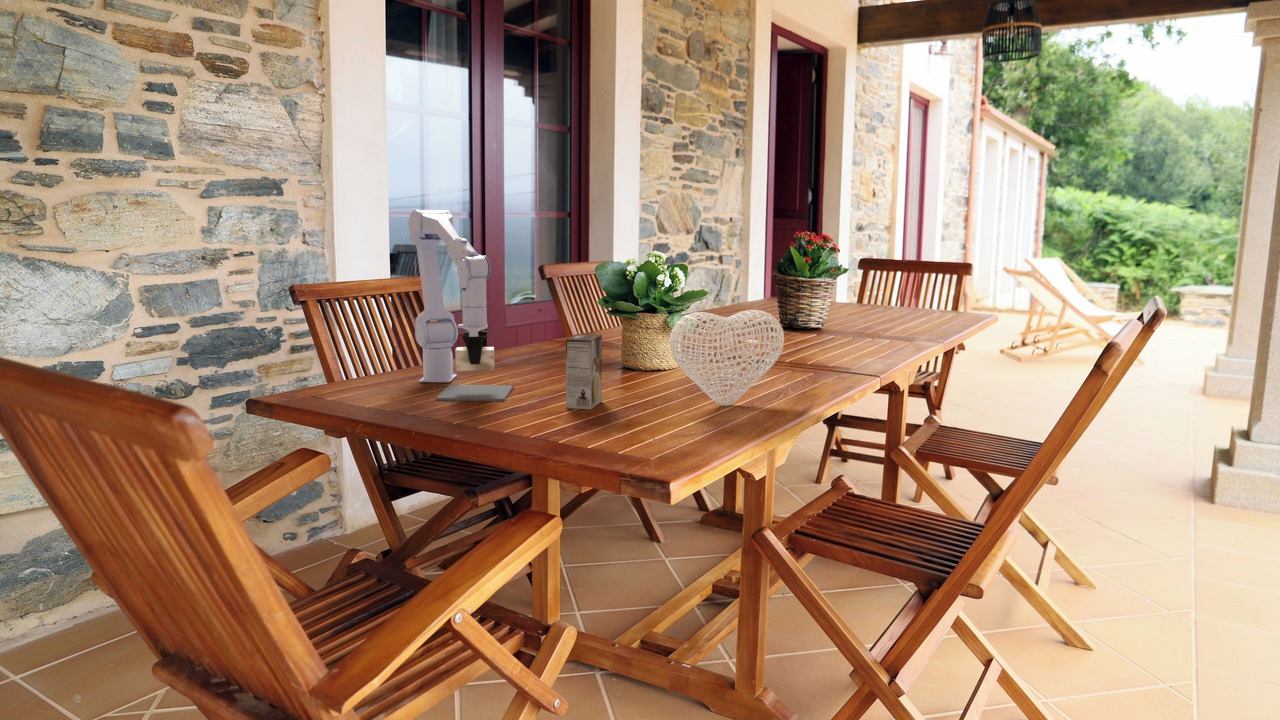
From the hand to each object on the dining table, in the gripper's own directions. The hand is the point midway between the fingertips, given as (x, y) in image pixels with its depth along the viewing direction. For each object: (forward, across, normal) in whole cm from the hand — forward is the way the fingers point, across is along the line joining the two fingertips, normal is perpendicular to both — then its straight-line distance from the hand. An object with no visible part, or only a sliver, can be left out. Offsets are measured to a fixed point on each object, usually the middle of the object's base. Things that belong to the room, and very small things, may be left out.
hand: (475, 362), depth 219 cm
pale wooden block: (+2, 0, 0) cm, 2 cm away
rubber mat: (+8, 0, 0) cm, 8 cm away
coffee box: (+8, +14, +25) cm, 30 cm away
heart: (+8, +18, +58) cm, 61 cm away
